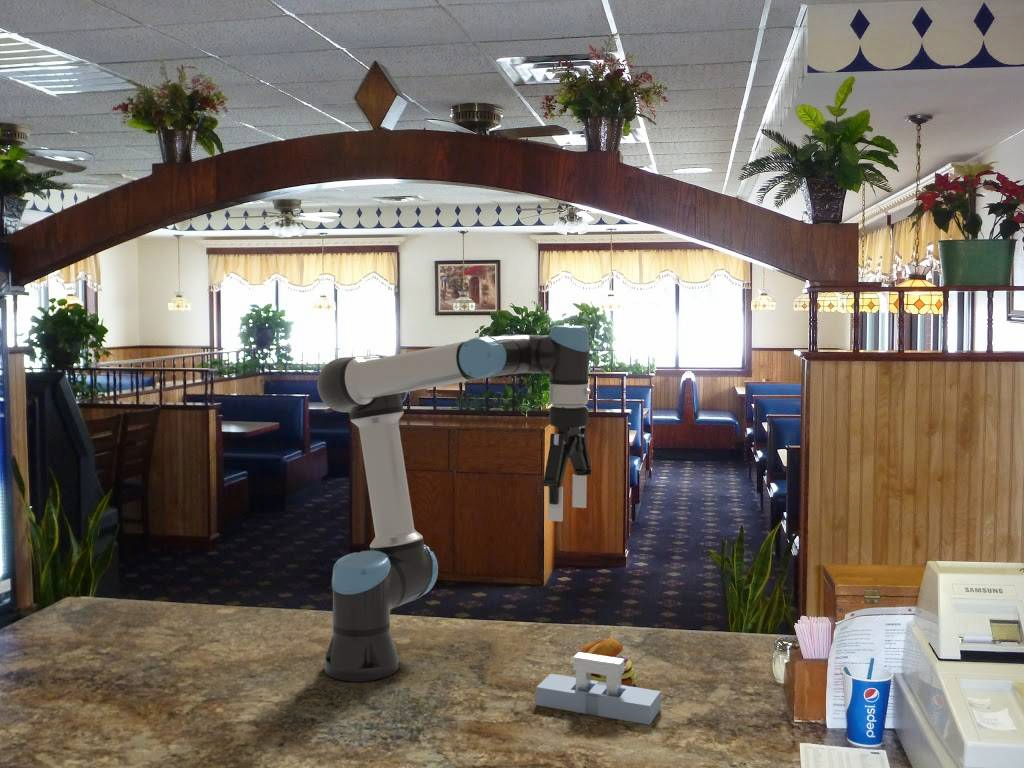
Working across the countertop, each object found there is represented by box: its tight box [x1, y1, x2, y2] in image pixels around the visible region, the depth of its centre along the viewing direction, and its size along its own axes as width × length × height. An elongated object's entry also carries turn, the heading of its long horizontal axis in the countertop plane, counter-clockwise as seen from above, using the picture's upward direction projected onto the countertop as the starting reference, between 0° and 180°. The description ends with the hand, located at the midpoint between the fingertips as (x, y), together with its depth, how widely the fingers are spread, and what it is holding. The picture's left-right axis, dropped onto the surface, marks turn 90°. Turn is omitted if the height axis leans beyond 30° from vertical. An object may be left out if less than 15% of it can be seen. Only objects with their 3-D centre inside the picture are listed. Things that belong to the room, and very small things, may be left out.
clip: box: [572, 651, 624, 697], centre depth 189 cm, size 9×3×10 cm, turn 67°
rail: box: [535, 673, 662, 726], centre depth 190 cm, size 22×8×4 cm, turn 67°
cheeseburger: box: [579, 637, 637, 687], centre depth 202 cm, size 10×11×10 cm
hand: (567, 513), depth 197 cm, fingers open, 13 cm apart
